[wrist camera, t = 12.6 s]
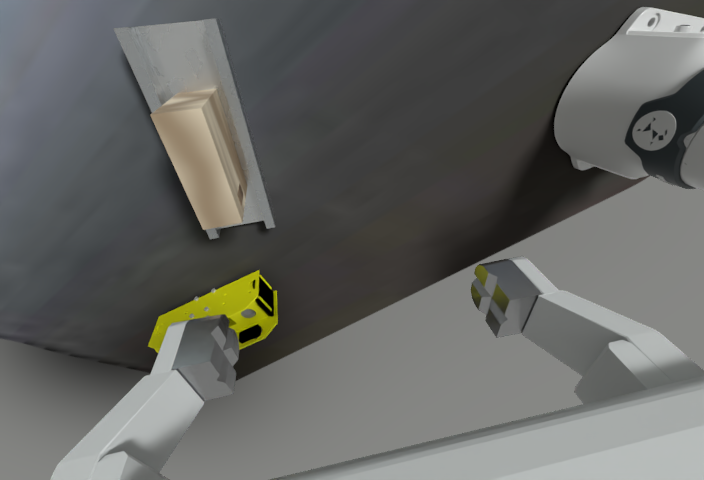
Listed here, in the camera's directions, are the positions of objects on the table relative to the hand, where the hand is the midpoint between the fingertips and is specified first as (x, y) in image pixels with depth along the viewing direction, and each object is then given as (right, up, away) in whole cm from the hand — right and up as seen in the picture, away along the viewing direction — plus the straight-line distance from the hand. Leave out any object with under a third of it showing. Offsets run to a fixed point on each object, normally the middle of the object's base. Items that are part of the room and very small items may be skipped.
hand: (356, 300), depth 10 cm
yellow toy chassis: (-20, -7, +35) cm, 41 cm away
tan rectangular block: (-14, +12, +21) cm, 28 cm away
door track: (-14, +12, +22) cm, 29 cm away
